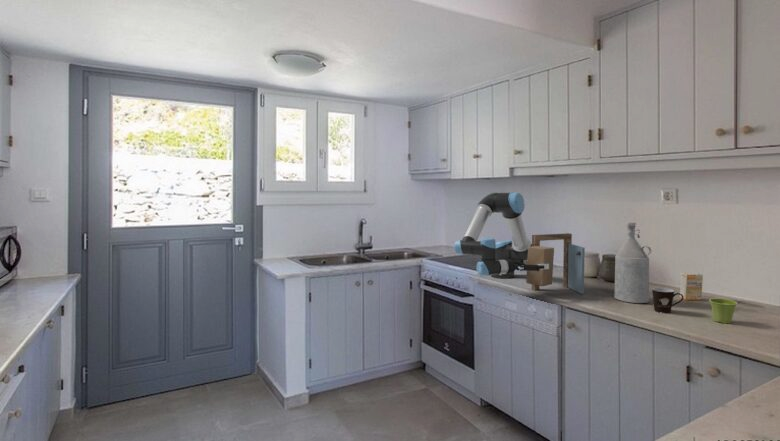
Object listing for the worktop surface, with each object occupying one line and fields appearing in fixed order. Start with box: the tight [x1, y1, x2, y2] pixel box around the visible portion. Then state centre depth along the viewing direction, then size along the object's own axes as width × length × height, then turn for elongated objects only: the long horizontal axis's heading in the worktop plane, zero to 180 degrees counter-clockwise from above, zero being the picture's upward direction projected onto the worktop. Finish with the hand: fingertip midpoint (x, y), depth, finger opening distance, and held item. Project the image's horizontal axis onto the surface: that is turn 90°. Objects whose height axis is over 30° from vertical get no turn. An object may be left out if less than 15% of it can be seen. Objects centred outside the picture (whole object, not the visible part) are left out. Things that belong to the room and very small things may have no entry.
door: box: [568, 243, 586, 295], centre depth 236 cm, size 17×3×25 cm, turn 2°
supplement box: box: [679, 272, 704, 301], centre depth 216 cm, size 8×5×13 cm, turn 89°
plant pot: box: [708, 298, 738, 324], centre depth 181 cm, size 9×9×9 cm
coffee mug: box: [651, 287, 684, 314], centre depth 196 cm, size 12×9×10 cm
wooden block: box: [525, 245, 555, 287], centre depth 231 cm, size 10×10×20 cm
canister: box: [614, 221, 652, 304], centre depth 215 cm, size 13×17×40 cm
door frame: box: [531, 232, 573, 291], centre depth 244 cm, size 3×24×31 cm, turn 104°
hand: (541, 264), depth 231 cm, fingers closed on wooden block, 12 cm apart
